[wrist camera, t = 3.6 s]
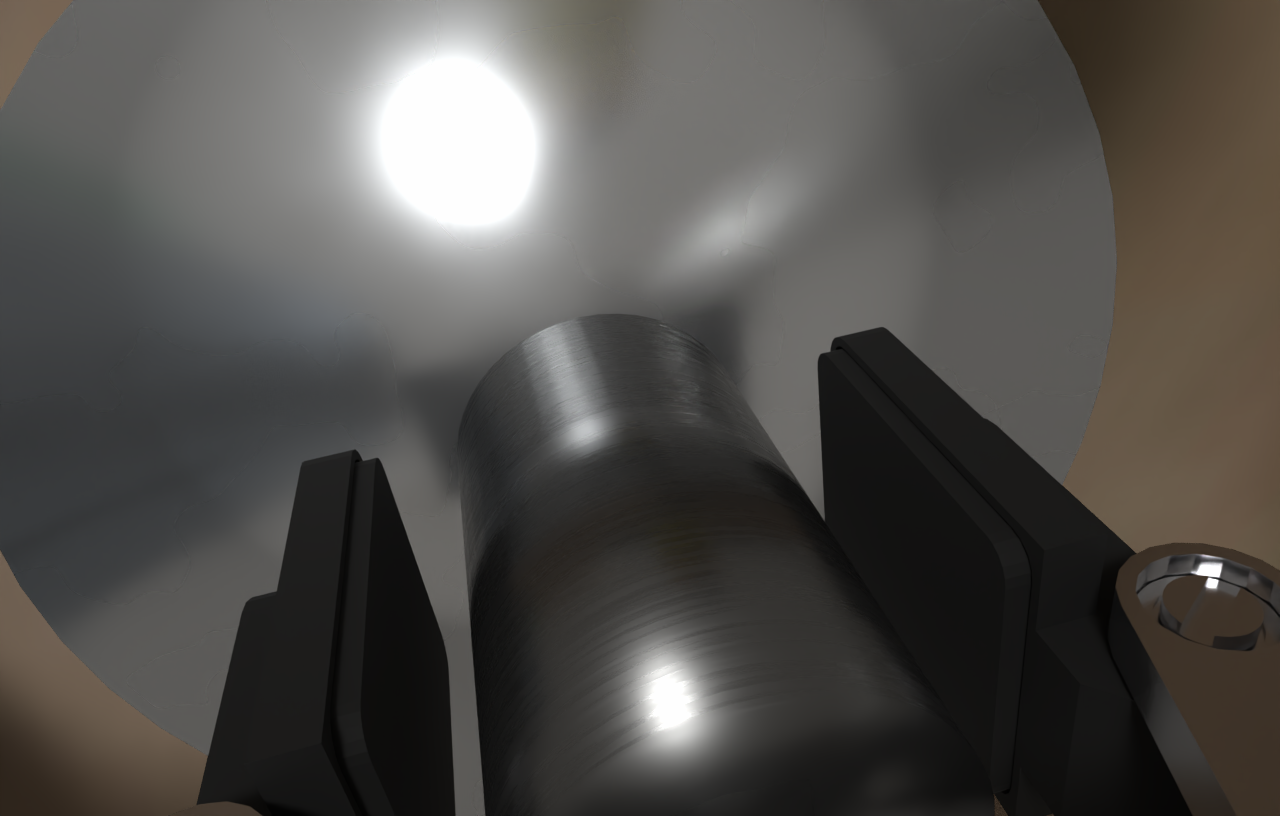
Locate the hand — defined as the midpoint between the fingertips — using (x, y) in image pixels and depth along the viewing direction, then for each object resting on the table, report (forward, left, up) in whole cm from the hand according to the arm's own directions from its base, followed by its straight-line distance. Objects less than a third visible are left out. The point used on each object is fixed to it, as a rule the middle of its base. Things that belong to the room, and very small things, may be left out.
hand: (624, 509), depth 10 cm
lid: (0, 0, -2) cm, 2 cm away
